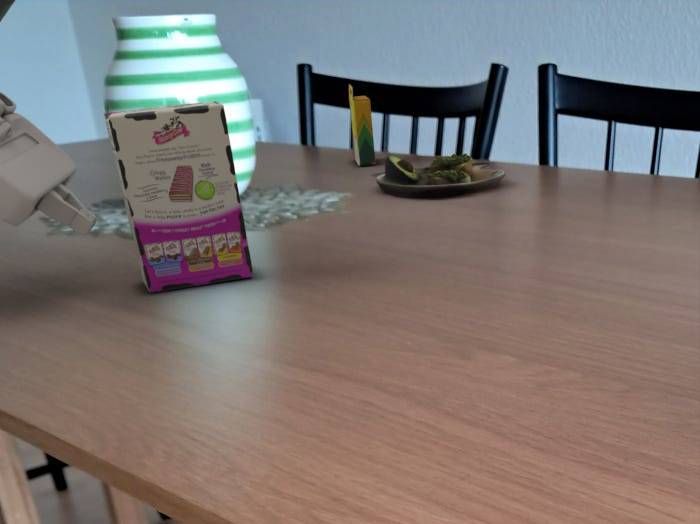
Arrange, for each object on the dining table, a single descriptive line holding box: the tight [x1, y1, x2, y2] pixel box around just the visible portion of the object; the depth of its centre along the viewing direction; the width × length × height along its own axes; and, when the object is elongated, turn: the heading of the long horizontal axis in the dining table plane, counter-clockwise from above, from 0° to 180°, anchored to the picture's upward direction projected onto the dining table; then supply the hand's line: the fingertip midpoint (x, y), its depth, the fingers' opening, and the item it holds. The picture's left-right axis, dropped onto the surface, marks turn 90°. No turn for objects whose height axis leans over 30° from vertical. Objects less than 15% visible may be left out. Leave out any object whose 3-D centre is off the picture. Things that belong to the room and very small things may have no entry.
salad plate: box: [370, 152, 506, 200], centre depth 147 cm, size 19×18×5 cm
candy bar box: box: [103, 100, 254, 293], centre depth 102 cm, size 11×5×16 cm, turn 114°
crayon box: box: [348, 83, 376, 167], centre depth 167 cm, size 7×3×12 cm, turn 11°
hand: (91, 228), depth 103 cm, fingers closed
